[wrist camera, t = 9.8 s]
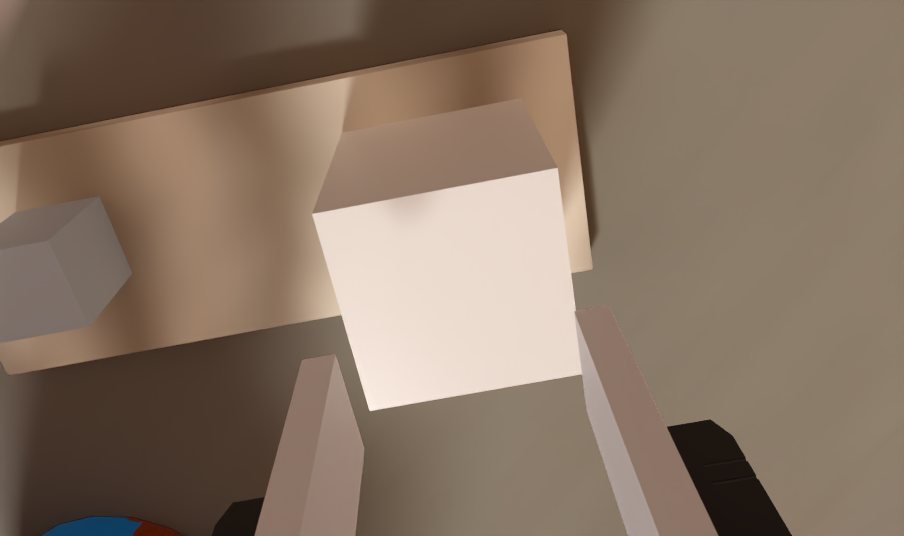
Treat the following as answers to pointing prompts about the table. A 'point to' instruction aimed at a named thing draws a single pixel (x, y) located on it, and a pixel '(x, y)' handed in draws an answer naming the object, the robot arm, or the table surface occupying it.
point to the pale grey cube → (57, 268)
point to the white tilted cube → (449, 255)
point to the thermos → (110, 528)
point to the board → (258, 191)
